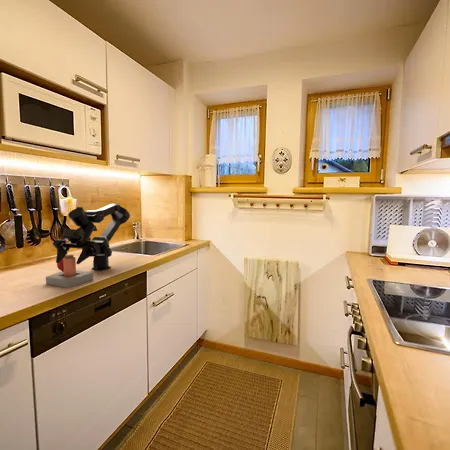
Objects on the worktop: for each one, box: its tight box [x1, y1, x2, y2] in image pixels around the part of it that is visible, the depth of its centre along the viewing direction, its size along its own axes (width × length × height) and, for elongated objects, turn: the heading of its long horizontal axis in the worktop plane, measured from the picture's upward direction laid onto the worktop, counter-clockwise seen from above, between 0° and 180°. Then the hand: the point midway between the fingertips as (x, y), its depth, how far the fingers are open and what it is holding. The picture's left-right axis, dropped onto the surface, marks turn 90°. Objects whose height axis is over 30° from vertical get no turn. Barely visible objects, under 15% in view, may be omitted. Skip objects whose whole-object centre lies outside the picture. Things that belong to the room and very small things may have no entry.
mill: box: [63, 254, 77, 277], centre depth 111 cm, size 4×4×11 cm
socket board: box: [45, 269, 94, 289], centre depth 112 cm, size 12×12×3 cm
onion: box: [56, 257, 65, 272], centre depth 125 cm, size 6×6×8 cm
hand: (67, 263), depth 110 cm, fingers open, 9 cm apart
